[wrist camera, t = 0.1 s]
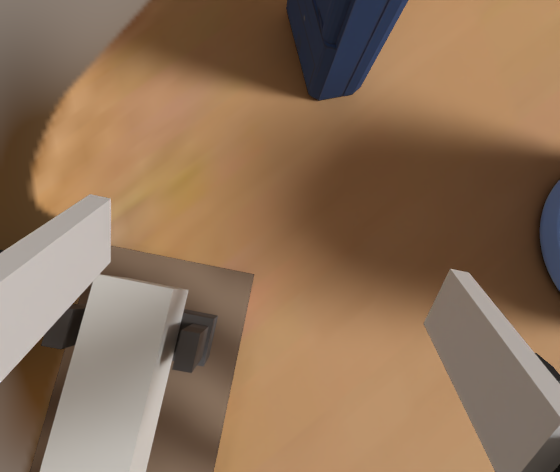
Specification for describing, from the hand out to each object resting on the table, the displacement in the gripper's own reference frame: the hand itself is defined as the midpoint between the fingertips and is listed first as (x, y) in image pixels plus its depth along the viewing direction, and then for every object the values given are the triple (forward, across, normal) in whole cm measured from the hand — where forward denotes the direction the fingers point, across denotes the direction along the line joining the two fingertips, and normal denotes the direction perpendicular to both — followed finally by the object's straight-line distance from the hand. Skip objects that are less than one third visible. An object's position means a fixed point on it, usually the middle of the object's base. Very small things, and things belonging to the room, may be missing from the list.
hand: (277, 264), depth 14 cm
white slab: (+2, +7, +16) cm, 17 cm away
